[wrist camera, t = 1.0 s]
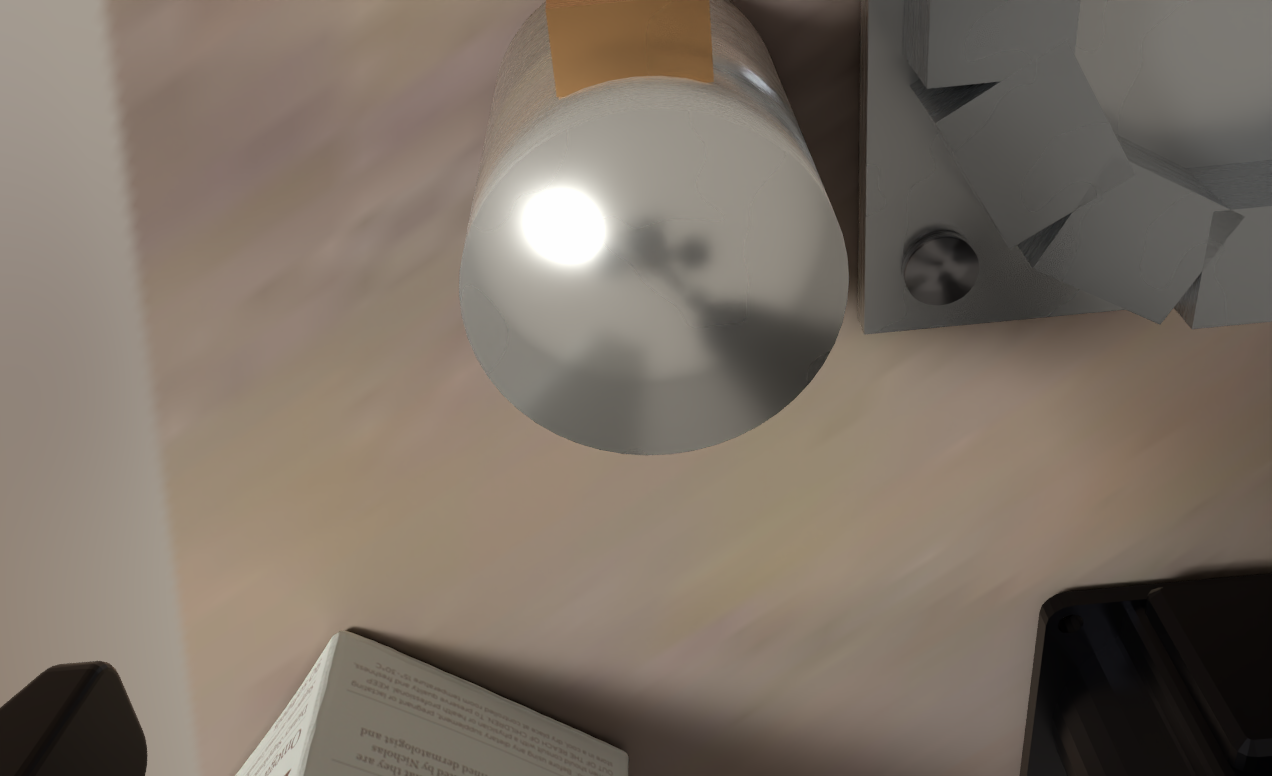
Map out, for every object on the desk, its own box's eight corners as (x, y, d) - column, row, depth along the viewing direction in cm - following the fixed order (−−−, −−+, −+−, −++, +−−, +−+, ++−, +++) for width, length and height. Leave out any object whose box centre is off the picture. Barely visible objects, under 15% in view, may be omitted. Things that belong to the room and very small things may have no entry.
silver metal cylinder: (782, 231, 20) (848, 437, 15) (515, 257, 20) (491, 470, 15) (774, -107, 17) (850, 7, 12) (462, -75, 17) (411, 51, 12)
